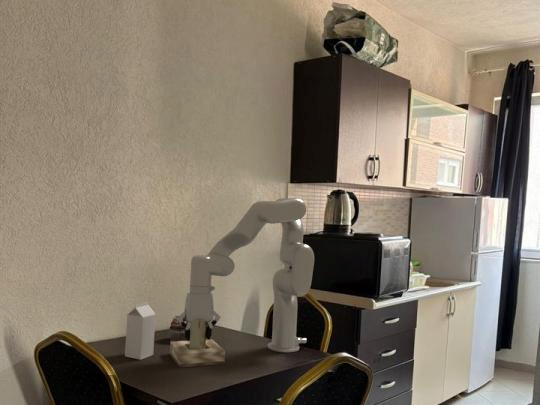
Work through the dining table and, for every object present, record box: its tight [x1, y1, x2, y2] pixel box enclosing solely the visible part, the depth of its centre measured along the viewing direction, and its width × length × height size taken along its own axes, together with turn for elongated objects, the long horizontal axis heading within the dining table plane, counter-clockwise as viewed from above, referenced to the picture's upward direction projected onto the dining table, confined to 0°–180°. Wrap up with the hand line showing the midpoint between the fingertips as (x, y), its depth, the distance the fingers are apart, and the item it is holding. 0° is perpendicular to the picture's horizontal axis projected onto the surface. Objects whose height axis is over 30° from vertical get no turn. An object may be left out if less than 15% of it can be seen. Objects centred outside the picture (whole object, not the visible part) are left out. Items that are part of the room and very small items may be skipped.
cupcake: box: [168, 315, 190, 342], centre depth 198 cm, size 10×10×10 cm
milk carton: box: [124, 301, 156, 361], centre depth 175 cm, size 7×7×19 cm
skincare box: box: [189, 320, 208, 350], centre depth 175 cm, size 6×4×12 cm
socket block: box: [169, 338, 226, 368], centre depth 175 cm, size 16×16×4 cm
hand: (197, 339), depth 175 cm, fingers closed on skincare box, 6 cm apart
